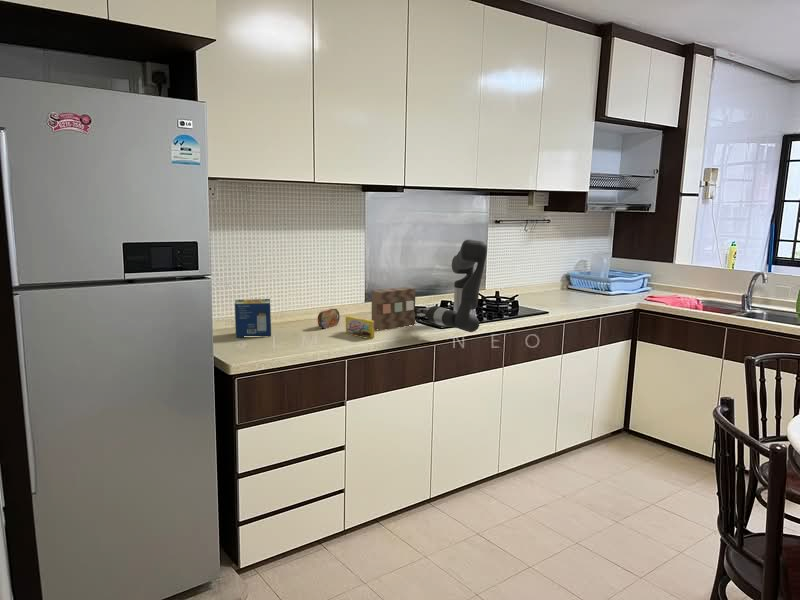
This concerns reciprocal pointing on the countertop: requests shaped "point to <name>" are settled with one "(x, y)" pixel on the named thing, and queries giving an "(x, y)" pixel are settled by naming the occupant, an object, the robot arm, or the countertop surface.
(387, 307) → the terracotta button
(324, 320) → the tin
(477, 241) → the robot arm
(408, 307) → the cream button
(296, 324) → the countertop surface
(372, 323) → the candy box
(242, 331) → the protein box
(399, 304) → the sage button
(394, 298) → the button panel
